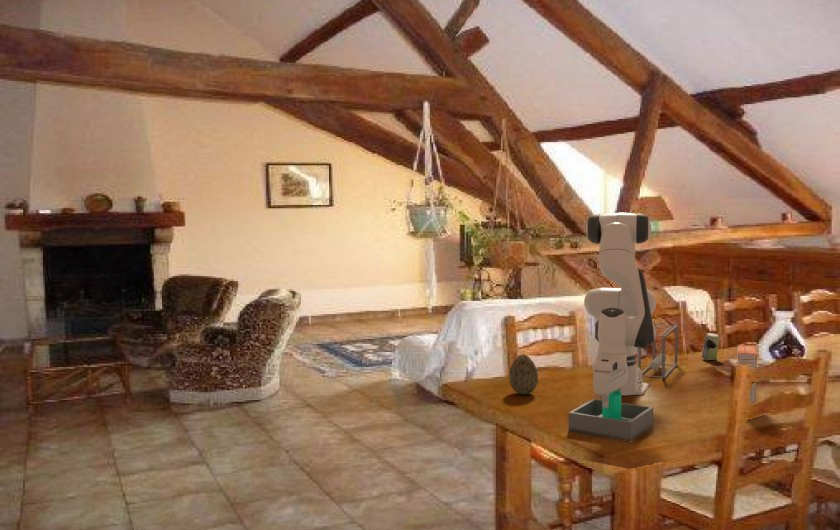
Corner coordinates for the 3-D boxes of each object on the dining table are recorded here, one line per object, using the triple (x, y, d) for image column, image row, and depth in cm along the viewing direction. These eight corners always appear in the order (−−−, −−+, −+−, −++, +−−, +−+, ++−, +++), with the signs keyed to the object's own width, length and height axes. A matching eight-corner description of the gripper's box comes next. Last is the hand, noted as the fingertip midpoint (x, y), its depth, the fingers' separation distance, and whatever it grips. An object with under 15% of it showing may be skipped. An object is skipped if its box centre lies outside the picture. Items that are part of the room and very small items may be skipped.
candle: (623, 424, 245) (624, 387, 243) (618, 429, 239) (618, 391, 238) (605, 421, 248) (605, 385, 246) (599, 426, 242) (599, 389, 241)
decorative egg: (503, 394, 287) (502, 354, 286) (520, 389, 295) (520, 350, 293) (526, 399, 279) (526, 358, 278) (543, 393, 287) (544, 354, 286)
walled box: (593, 416, 257) (593, 398, 257) (653, 425, 246) (653, 407, 245) (568, 431, 241) (568, 412, 241) (630, 442, 230) (631, 422, 229)
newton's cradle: (664, 380, 307) (665, 336, 305) (637, 377, 311) (638, 334, 310) (677, 365, 333) (678, 324, 331) (652, 363, 338) (653, 323, 336)
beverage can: (706, 358, 347) (706, 331, 346) (721, 360, 341) (722, 333, 340) (698, 360, 343) (699, 333, 342) (714, 362, 337) (714, 335, 336)
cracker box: (735, 403, 271) (737, 344, 270) (754, 404, 269) (756, 345, 267) (736, 413, 258) (738, 352, 257) (756, 415, 256) (757, 353, 254)
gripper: (614, 353, 252) (614, 395, 253) (589, 365, 235) (589, 409, 237) (633, 355, 248) (632, 398, 250) (609, 367, 232) (609, 412, 233)
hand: (611, 403), depth 243 cm, fingers open, 8 cm apart
